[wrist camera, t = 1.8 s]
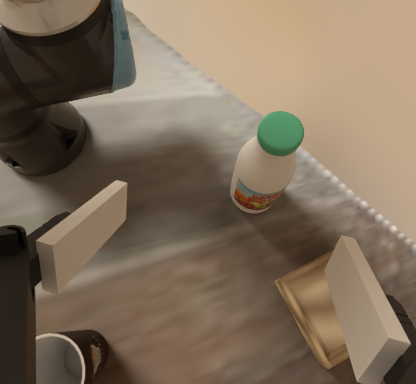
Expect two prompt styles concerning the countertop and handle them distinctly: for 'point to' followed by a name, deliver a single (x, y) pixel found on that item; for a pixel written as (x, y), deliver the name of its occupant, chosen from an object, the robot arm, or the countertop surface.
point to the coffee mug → (70, 357)
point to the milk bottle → (266, 162)
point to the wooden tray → (315, 310)
